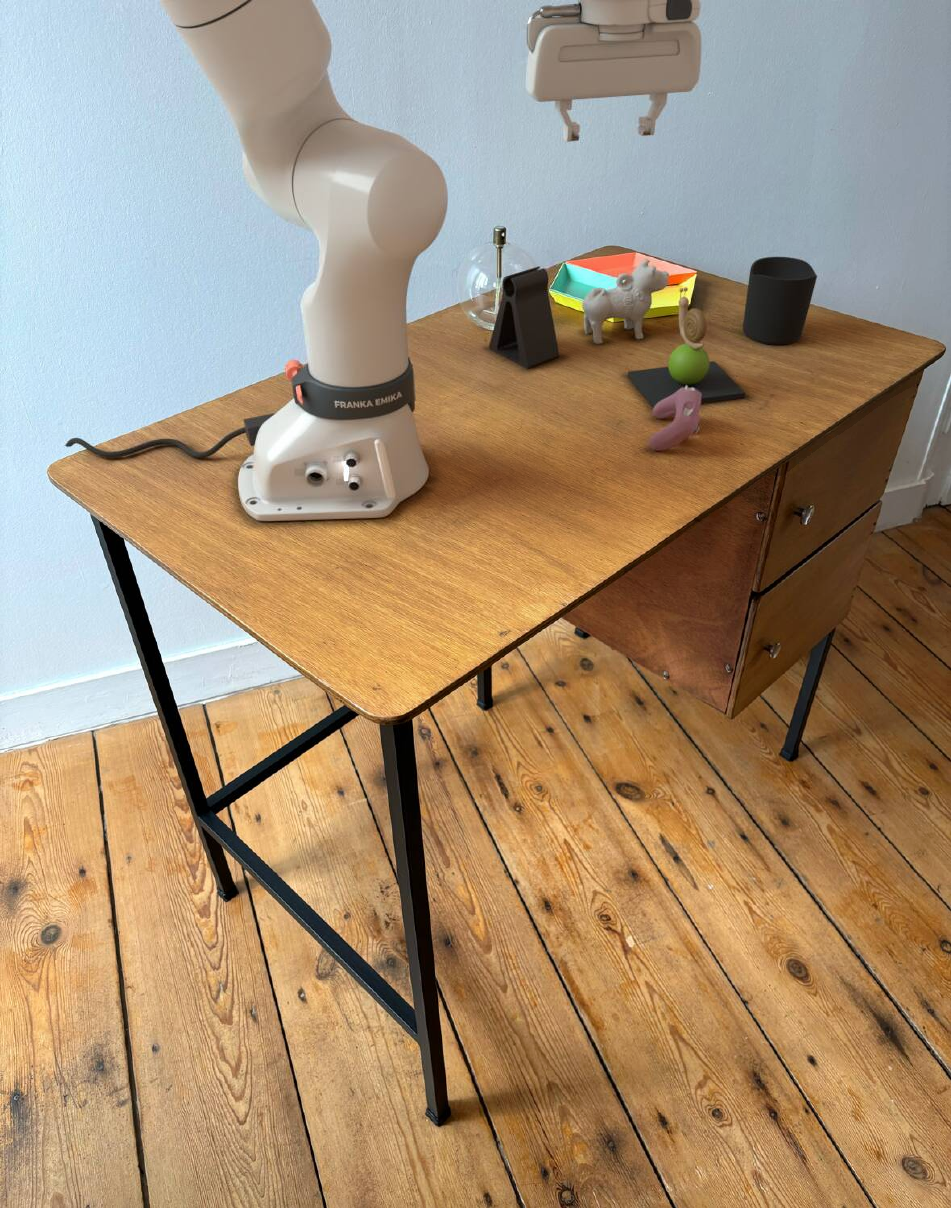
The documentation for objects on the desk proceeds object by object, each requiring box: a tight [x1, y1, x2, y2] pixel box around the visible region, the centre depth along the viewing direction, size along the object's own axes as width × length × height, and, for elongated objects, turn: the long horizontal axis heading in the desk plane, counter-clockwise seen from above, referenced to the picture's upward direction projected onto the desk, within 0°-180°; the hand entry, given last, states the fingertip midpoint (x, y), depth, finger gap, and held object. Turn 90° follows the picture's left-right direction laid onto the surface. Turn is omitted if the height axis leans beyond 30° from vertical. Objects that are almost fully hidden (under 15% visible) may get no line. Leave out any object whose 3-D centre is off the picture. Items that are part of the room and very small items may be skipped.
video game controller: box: [648, 385, 702, 452], centre depth 120 cm, size 10×5×7 cm, turn 168°
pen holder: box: [742, 256, 818, 346], centre depth 141 cm, size 9×9×10 cm
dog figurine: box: [581, 258, 670, 345], centre depth 142 cm, size 5×13×11 cm, turn 107°
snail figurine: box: [667, 286, 711, 385], centre depth 127 cm, size 5×6×12 cm
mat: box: [627, 360, 746, 409], centre depth 131 cm, size 13×10×1 cm
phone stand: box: [488, 265, 560, 369], centre depth 137 cm, size 9×6×12 cm, turn 37°
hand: (608, 137), depth 114 cm, fingers open, 8 cm apart
